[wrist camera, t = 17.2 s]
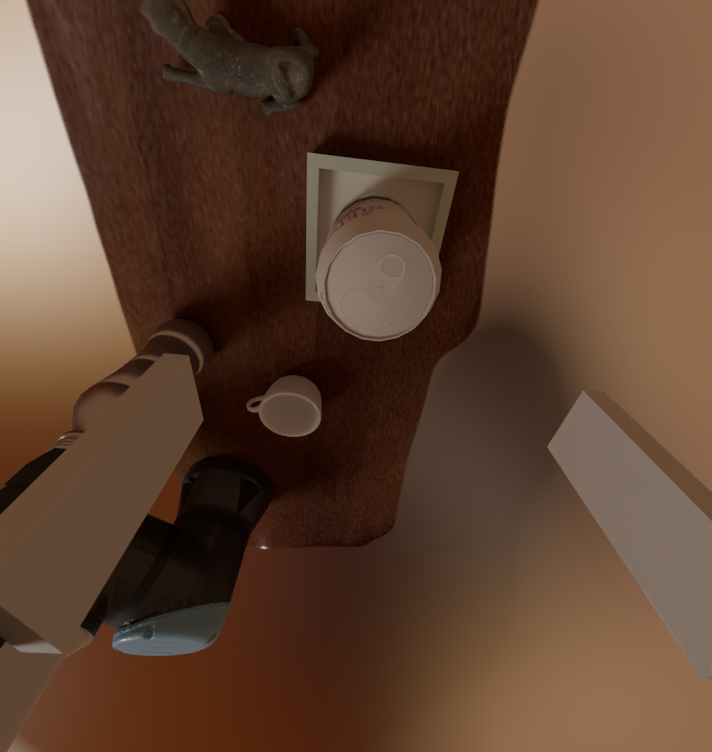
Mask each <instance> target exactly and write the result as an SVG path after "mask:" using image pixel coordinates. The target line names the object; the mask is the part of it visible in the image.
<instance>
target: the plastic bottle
mask: <svg viewBox="0 0 712 752" xmlns="http://www.w3.org/2000/svg"><path fill="white" fill-rule="evenodd" d="M164 353H167V354H178V355H189V358H190V363H191V367H192V371H193V376H195V375H196V374H198V373H199V372H201V371H202V370H203V369H204V368H205V367H206V366H207V365H208V364H209V362H210V360H211V357H212V354H213V343H212V340H211V338H210V336H209V334H208V333H207V332H206V330H205V329H204V328H202V327H201V326H200V325H198V324H197V323H195V322H192V321H189V320H185V319H172V320H170V321H168V322H165V323H163V324H161V325H160V326H159V327H157V329H156V330H155V331H154V332H153V334H152V335H151V337H150V338H149V340H148V342H147V343H146V345H145V346H144V347H143V348H142V349H141V350H140V351H139V353H138V354H137V355H136V356H135V357H134V358H133V359H131V360H130V361H129V362H128V363H126V364H125V365H124V366H123V367H121V368H120V369H119V370H117V371H116V372H114V373H113V374H111V375H109V376H107V377H106V378H104V379H103V380H101V381H99V382H98V383H96V384H95V385H93V386H91V387H90V388H89V389H88V390H86V391H85V392H84V393H82V394H81V395H80V397H79V398H78V400H77V402H76V404H75V405H74V408H73V414H72V431H68V432H66V433H64V434H63V435H62V436H61V437H60V438H59V439H58V442H57V443H56V444H54V445H53V446H52V447H51V448H50V449H49V450H48V451H50V450H51V449H53V448H64V449H67V448H68V447H70V446H71V445H72V444H73V443H74V442H75V441H76V440H77V439H78V438H79V437H80V436H81V435H82V434H83V433H84V432H85V431H86V430H87V429H88V428H89V427H90V426H91V425H92V424H93V423H94V422H95V421H96V420H97V419H98V418H99V417H100V416H101V415H102V414H103V413H104V412H105V411H106V410H107V409H108V408H109V407H110V406H111V405H112V404H113V403H114V402H115V401H116V400H117V399H118V398H119V397H120V396H121V395H122V394H123V393H124V392H125V391H126V390H127V389H128V388H129V387H130V386H131V385H132V384H133V383H134V382H135V381H136V380H138V379H139V378H140V377H141V376H142V375H143V374H144V373H145V372H146V371H147V370H148V369H149V368H150V367H151V366H152V365H153V364H154V363H155V362H156V361H157V360H158V359H159V358H160V357H161V356H162V355H163V354H164ZM48 451H47V452H48Z"/></svg>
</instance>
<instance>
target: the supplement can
mask: <svg viewBox="0 0 712 752" xmlns="http://www.w3.org/2000/svg"><path fill="white" fill-rule="evenodd" d="M441 272H442V269H441V265H440V261H439V257H438V253H437V249H436V247H435V246H434V244H433V243H432V242H431V240H430V239H429V237H428V236H427V235H426V233H425V232H424V231H423V229H422V228H421V227H420V226H419V224H418V223H417V222H416V221H415V220H414V218H413V217H412V216H411V215H410V214H409V212H408V211H407V210H406V209H405V208H404V206H403V205H402V204H401V203H399V202H398V201H396V200H395V199H393V198H391V197H390V196H388V195H383V194H376V193H370V194H366V195H362V196H358V197H356V198H355V199H353V200H352V201H350V202H349V203H348V204H346V205H345V206H344V207H343V209H342V210H341V212H340V213H339V215H338V216H337V218H336V219H335V221H334V224H333V226H332V228H331V231H330V233H329V235H328V237H327V240H326V242H325V244H324V247H323V249H322V251H321V254H320V258H319V262H318V267H317V271H316V283H317V291H318V297H319V299H320V301H321V303H322V305H323V307H324V309H325V311H326V313H327V315H328V316H330V317H331V318H332V319H333V320H334V321H335V322H336V323H337V324H338V325H339V326H340V327H341V328H342V329H344V330H345V331H346V332H348V333H350V334H352V335H354V336H356V337H358V338H360V339H365V340H373V341H383V340H389V339H394V338H398V337H400V336H402V335H403V334H405V333H407V332H409V331H411V330H413V329H414V328H415V327H416V326H417V325H418V324H419V323H420V322H421V321H422V320H423V319H424V318H425V317H426V315H427V313H428V312H429V311H430V310H431V308H432V306H433V304H434V301H435V299H436V297H437V295H438V293H439V290H440V281H441Z"/></svg>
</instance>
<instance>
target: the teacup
mask: <svg viewBox="0 0 712 752" xmlns="http://www.w3.org/2000/svg"><path fill="white" fill-rule="evenodd" d="M256 401H262V402H261V403H260V404H259V405H258V406H256V407H250V405H251V404H252V403H254V402H256ZM247 409H248V410H249V411H251V412H259V417H260V419H261V421H262V423H263V424H264V425H265V426H266V427H267V428H268V429H270V430H271V431H273V432H275V433H277V434H280V435H283V436H289V437H299V436H304V435H307V434H309V433H311V432H313V431H314V430H315V429H316V428H317V427H318V426H319V424H320V421H321V395H320V392H319V390H318V388H317V387H316V385H315V384H314V383H313V382H311V381H310V380H309V379H307V378H305V377H302V376H297V375H289V376H285V377H282V378H280V379H278V380H277V381H275V382H274V383H273V384H272V385H271V387H270V388H269V389H268V391H267V392H266V394H265V395H262V396H259V397H255V398H253V399H251V400H249V401H248V402H247Z"/></svg>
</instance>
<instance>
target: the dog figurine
mask: <svg viewBox="0 0 712 752" xmlns="http://www.w3.org/2000/svg"><path fill="white" fill-rule="evenodd" d="M140 10H141V13H142V14H143V15H144V16H145V17H146V18H148V19H149V20H150V24H151V28H152V30H153V31H154V32H155V33H156V34H157V35H159V36H161V37H164V38H165V39H166V40H167V41H168V42H169V44H170V45H171V46H172V47H173V48H174V49H175V50H177V51H178V52H179V53H180V54H181V55H182V57H183V58H184V59H185V60H186V61H187V62H188V63H190V64H191V65H193V66H194V67H195V69H196V70H197V71H198V72H189V71H183V70H181V69H179V68H173V67H172V66H171V65H169V64H164V65H162V69H163V78H165V79H166V80H168V81H170V82H178V83H189V84H191V85H195V86H198V87H202V88H205V89H208V90H211V91H213V92H218V93H221V94H225V95H230V94H233V93H234V92H238V93H240V94H242V95H244V96H248V97H253V98H261V97H265V96H270V95H272V96H273V97H274V99H273V100H264V101H262V102H261V104H262V109H263V112H264V113H265V114H266V115H268V116H271V115H273V114H274V113H275V112H285V111H289V110H295V109H298V108H300V107H301V105H302V104H301V101H300V99H301V98H303V97H304V96H305V95H307V94H308V92H309V91H310V89H311V87H312V84H313V78H314V63H313V61H314V60H315V59H316V58H317V57H318V56H319V50H318V48H317V47H316V46H315V45H314V44H312V43H311V41H310V39H309V37H308V36H307V35H306V34H305V32H304V30H303V29H302V28H300V27H297V28H296V29H295V30H294V35H293V39H294V41H295V43H296V44H297V45H299V46H293V45H289V46H274V47H271V48H269V47H267V46H264V45H261V44H257V43H251V42H247V41H246V40H245V39H244V38H243V37H242V36H240V35H239V34H238V33H237V32H236V31H235V30H233V29H232V28H231V27H230V24H229V22H228V21H227V20H226V19H225V18H224V17H223V16H222V15H221V14H215V16H210V17H209V18H208V20H207V23H206V24H207V27H208V29H209V31H206V30H205V29H204V28H202V27H201V26H199V25H197V24H196V22H195V21H194V19H193V18H192V15H191V12H190V10H189V7H188V6H187V4H186V2H185V1H184V0H144V1H143V2H142V4H141V7H140Z"/></svg>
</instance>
